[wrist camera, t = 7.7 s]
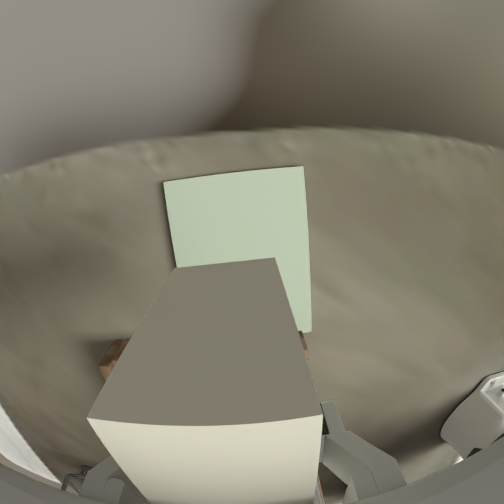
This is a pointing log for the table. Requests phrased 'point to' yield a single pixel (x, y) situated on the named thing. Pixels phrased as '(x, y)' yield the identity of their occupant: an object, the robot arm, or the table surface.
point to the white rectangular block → (215, 393)
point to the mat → (245, 225)
